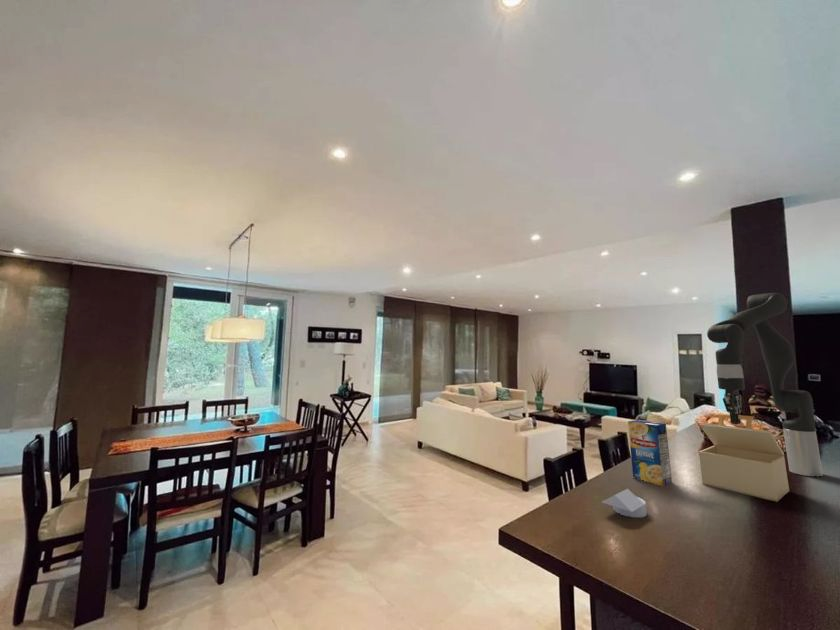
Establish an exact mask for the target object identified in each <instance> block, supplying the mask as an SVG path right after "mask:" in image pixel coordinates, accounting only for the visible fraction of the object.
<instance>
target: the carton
mask: <svg viewBox="0 0 840 630" xmlns="http://www.w3.org/2000/svg"><path fill="white" fill-rule="evenodd" d="M698 455H699V457H698V458H699V464H700V465H699V466H700V472H701V480H702V481H701V482H702V485H703V486H708V487H713V488H716V489H719V490H720V489H721V490H725V491H728V492H734V493H739V494H742V495H747V496H751V497H755V498H759V499H764V500H767V501H772V502H776V503H778V502H779V501H780V500H781V499H782V498H783V497H784V496H785V495H787V494H788V493H789V492H790V487H789V486H790V485H789V480H788V473H787V466H786V465H787V464H786V459H785V455H784V456H782V455H775V454H769V453H762V452H756V451H749V450H743V449H736V448H729V447H723V446H716V445H714V444H713V445H712V446H709V447H707V448H704V449H702V450H699V451H698Z"/></svg>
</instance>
